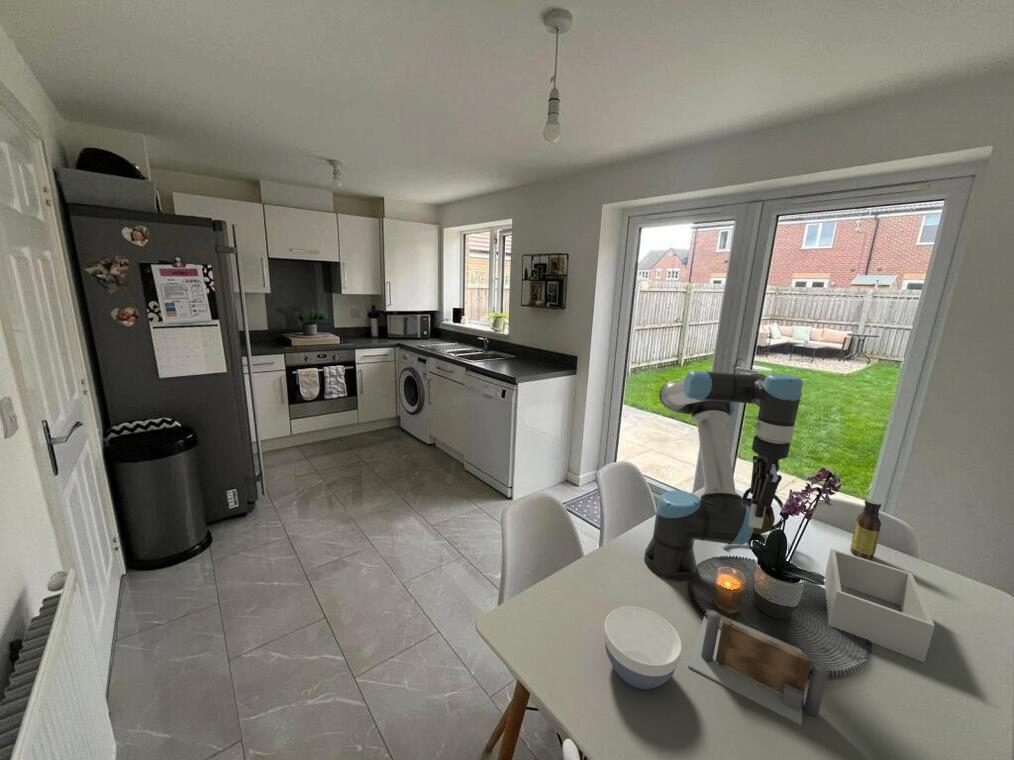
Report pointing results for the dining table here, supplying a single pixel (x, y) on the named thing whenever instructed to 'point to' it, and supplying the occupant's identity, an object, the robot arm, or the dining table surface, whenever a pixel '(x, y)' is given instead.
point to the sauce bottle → (866, 531)
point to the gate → (761, 658)
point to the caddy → (872, 620)
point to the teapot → (767, 520)
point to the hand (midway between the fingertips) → (754, 526)
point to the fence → (748, 687)
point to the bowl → (641, 646)
